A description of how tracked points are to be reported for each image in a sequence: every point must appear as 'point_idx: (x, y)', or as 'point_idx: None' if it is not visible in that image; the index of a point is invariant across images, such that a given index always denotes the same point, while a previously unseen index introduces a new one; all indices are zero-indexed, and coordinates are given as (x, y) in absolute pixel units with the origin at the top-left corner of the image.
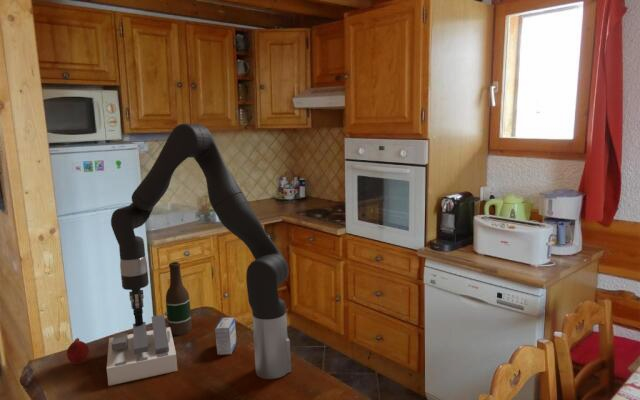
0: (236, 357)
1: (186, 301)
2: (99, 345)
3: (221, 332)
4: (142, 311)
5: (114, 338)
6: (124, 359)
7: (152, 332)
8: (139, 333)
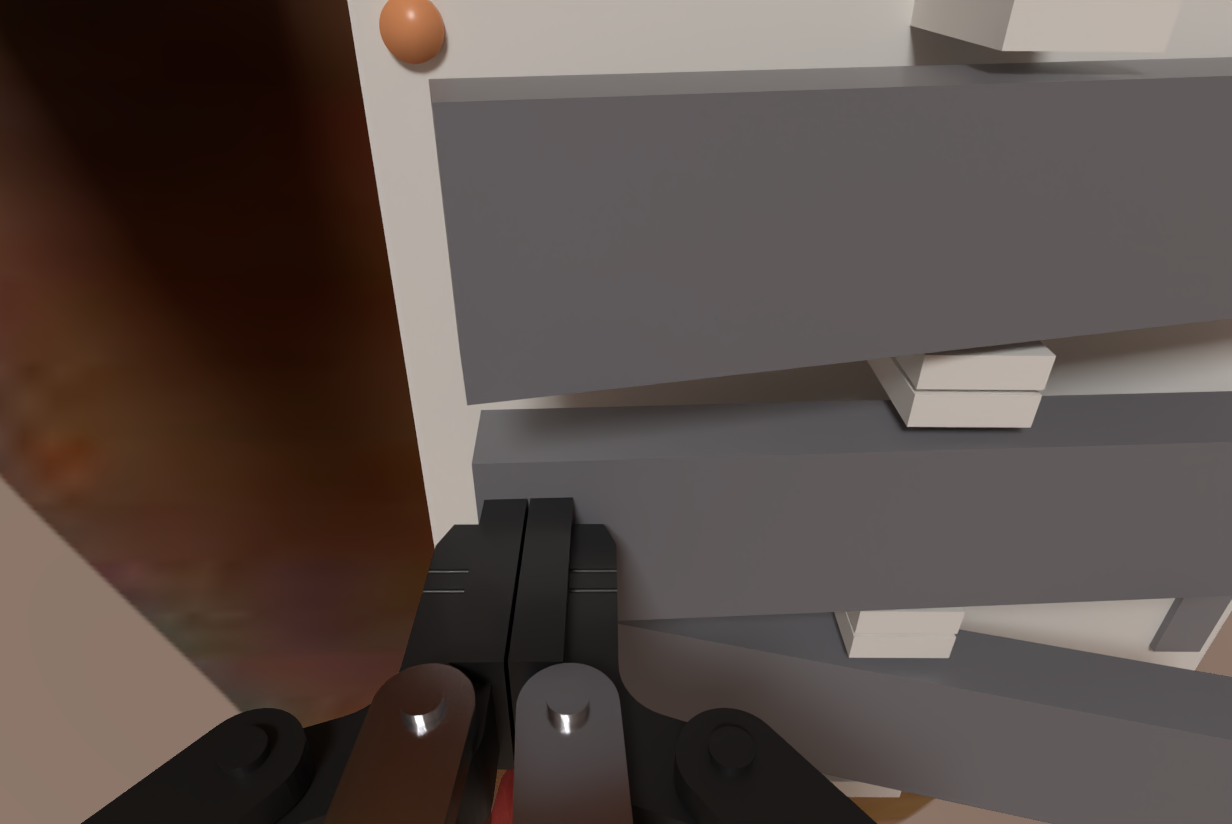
0: None
1: None
2: (280, 638)
3: None
4: (744, 774)
5: (815, 763)
6: None
7: None
8: (901, 542)
